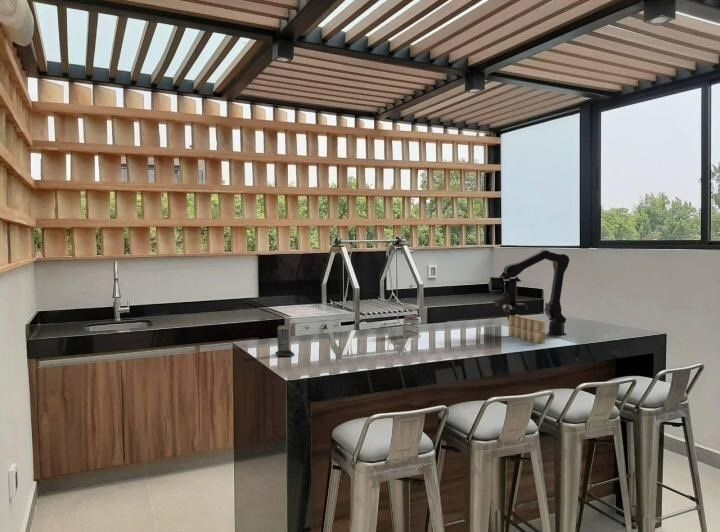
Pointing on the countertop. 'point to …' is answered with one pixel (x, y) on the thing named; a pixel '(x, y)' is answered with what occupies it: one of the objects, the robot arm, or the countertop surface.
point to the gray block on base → (283, 341)
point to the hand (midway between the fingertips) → (510, 322)
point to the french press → (412, 320)
